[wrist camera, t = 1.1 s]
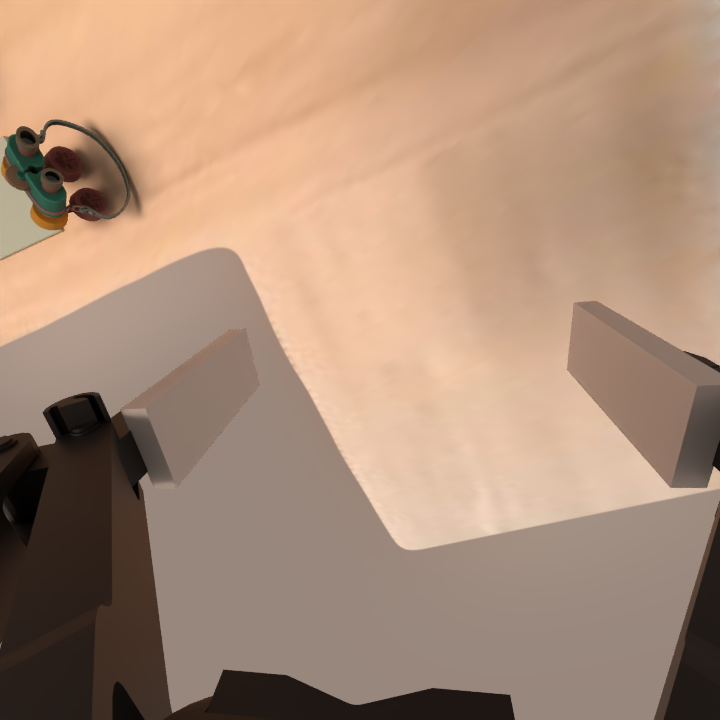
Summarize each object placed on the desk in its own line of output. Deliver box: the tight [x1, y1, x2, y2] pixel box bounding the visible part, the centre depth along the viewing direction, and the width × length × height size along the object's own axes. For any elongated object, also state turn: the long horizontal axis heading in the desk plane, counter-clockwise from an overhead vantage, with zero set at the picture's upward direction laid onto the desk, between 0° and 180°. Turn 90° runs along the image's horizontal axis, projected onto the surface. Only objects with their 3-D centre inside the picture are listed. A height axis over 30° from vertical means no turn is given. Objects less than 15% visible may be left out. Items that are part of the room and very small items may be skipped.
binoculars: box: [1, 120, 130, 230], centre depth 36 cm, size 9×9×10 cm
